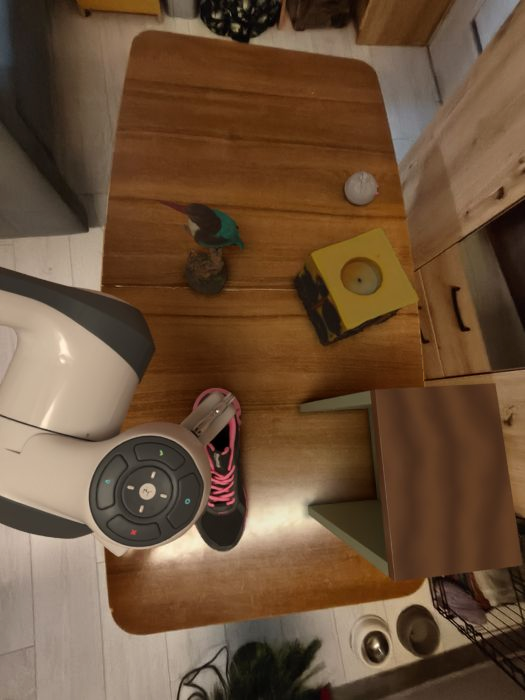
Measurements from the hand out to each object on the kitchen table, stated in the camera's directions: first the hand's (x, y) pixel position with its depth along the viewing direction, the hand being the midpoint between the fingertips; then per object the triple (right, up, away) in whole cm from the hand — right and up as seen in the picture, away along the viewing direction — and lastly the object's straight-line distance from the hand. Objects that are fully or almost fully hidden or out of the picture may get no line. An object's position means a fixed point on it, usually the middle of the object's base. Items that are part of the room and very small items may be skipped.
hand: (168, 457), depth 56 cm
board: (+33, 0, -7) cm, 33 cm away
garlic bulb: (+32, +46, +35) cm, 67 cm away
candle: (+28, +24, +30) cm, 47 cm away
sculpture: (+1, +29, +27) cm, 39 cm away
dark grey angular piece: (+27, -6, +25) cm, 38 cm away
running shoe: (+4, -7, +21) cm, 23 cm away
